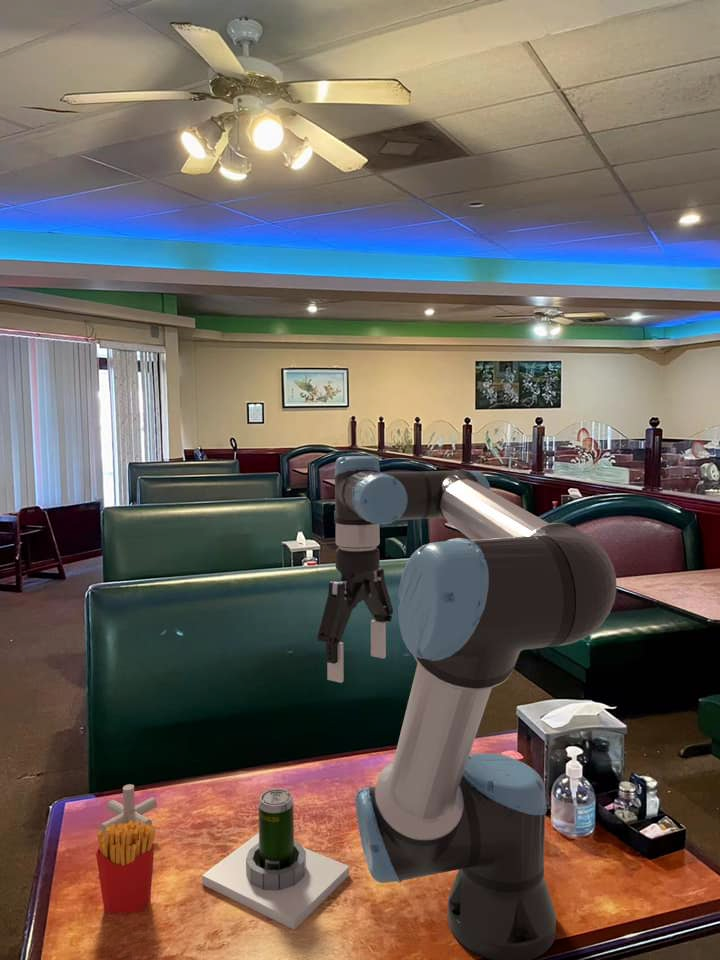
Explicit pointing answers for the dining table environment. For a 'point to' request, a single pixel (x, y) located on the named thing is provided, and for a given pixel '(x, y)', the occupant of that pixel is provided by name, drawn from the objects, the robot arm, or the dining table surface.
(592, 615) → the robot arm
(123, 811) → the pipe connector
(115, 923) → the dining table surface
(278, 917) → the holder
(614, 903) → the dining table surface
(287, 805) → the beer can
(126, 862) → the french fries
